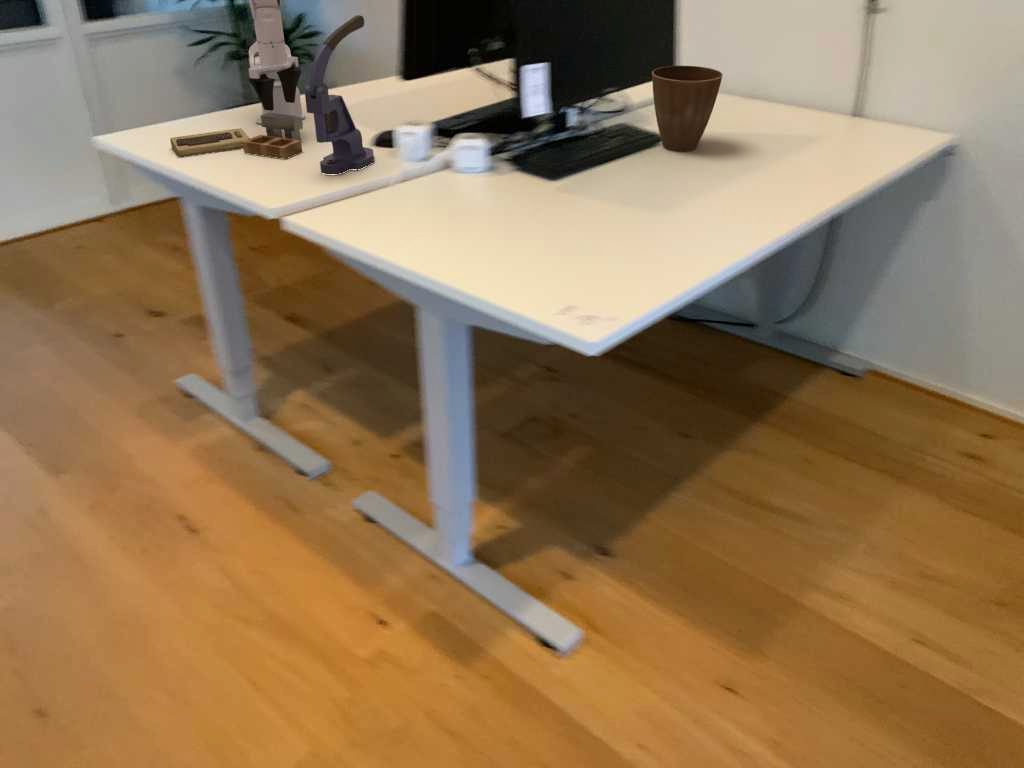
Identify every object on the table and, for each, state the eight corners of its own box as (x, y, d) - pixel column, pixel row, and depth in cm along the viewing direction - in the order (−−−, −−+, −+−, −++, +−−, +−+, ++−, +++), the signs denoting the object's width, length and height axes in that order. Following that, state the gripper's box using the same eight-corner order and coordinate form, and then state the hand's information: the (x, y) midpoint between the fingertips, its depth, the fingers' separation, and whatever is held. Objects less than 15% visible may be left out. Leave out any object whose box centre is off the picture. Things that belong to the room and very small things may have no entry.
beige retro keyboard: (179, 160, 183) (176, 144, 181) (171, 150, 189) (168, 135, 187) (252, 149, 190) (250, 134, 188) (242, 140, 196) (240, 126, 194)
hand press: (340, 180, 171) (324, 31, 156) (304, 174, 174) (285, 27, 159) (389, 155, 185) (379, 16, 170) (356, 149, 188) (343, 13, 173)
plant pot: (698, 161, 182) (708, 83, 174) (634, 150, 189) (640, 75, 180) (722, 143, 193) (732, 70, 185) (661, 134, 200) (668, 62, 191)
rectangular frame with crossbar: (261, 145, 190) (260, 134, 189) (302, 152, 187) (300, 140, 185) (244, 153, 186) (242, 141, 184) (285, 159, 182) (283, 148, 181)
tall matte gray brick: (272, 136, 197) (269, 112, 194) (304, 141, 194) (301, 116, 191) (264, 140, 194) (260, 115, 191) (296, 144, 191) (293, 120, 188)
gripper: (264, 48, 176) (273, 115, 183) (306, 37, 187) (313, 100, 194) (236, 45, 178) (247, 111, 185) (280, 34, 189) (288, 97, 196)
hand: (279, 106), depth 190 cm, fingers open, 7 cm apart
